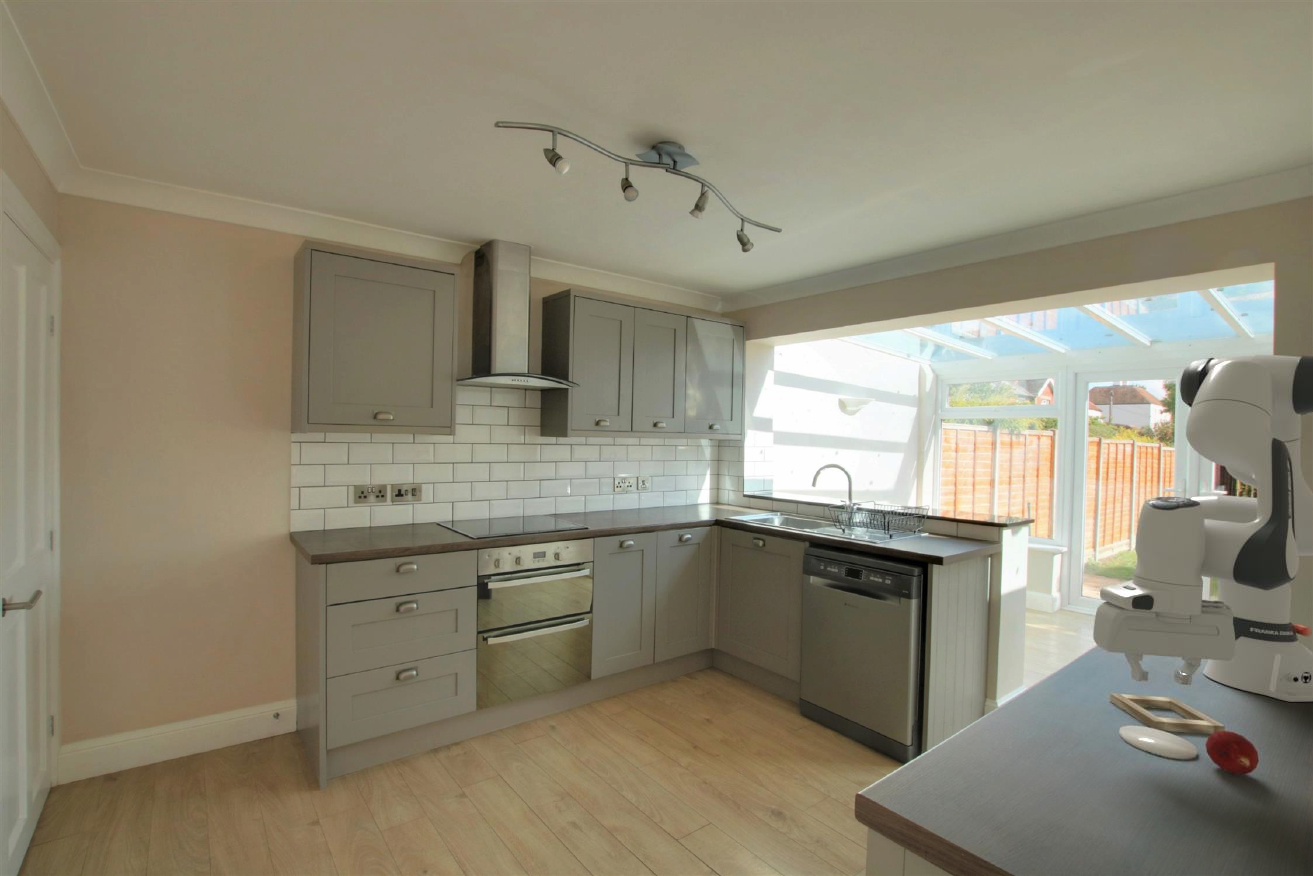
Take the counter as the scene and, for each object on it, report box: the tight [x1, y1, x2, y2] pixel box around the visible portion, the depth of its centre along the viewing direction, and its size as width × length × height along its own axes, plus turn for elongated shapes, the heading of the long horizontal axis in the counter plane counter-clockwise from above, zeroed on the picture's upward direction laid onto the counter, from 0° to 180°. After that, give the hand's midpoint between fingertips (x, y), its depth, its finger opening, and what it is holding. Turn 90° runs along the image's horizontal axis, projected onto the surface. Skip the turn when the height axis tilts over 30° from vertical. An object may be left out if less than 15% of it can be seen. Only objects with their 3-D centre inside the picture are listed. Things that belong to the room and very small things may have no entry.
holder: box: [1109, 693, 1226, 735], centre depth 114 cm, size 12×12×2 cm
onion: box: [1205, 730, 1260, 776], centre depth 95 cm, size 6×6×8 cm
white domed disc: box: [1118, 725, 1198, 761], centre depth 104 cm, size 10×10×1 cm
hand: (1160, 682), depth 103 cm, fingers open, 5 cm apart
